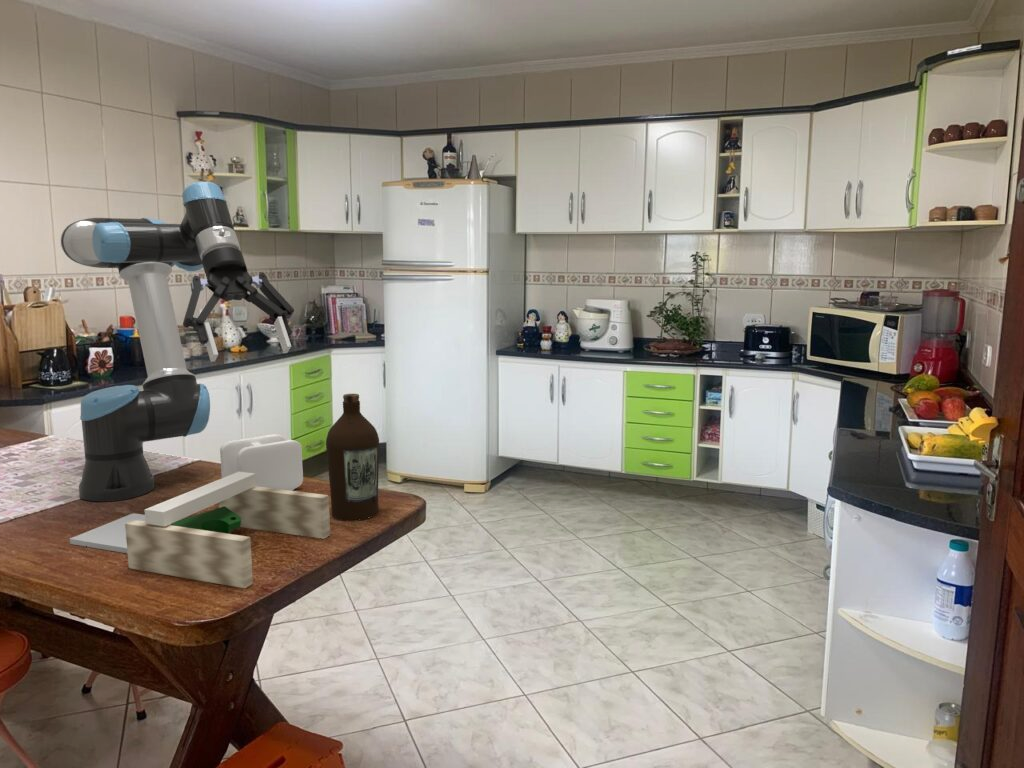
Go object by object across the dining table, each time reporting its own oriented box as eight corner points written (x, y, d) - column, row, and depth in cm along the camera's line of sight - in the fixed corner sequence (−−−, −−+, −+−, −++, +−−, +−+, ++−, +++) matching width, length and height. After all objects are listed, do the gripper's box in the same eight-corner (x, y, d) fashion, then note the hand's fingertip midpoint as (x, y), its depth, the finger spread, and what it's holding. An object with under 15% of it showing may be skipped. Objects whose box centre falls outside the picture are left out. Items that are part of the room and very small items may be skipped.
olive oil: (321, 511, 163) (316, 393, 159) (368, 502, 169) (364, 388, 165) (341, 526, 154) (336, 402, 150) (389, 515, 160) (386, 396, 156)
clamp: (196, 578, 141) (181, 543, 135) (176, 563, 144) (161, 529, 138) (250, 536, 148) (238, 502, 143) (230, 523, 151) (218, 489, 146)
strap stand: (128, 568, 134) (124, 523, 132) (226, 520, 157) (224, 482, 156) (245, 588, 126) (242, 541, 125) (330, 535, 149) (328, 495, 148)
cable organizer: (238, 502, 168) (235, 450, 166) (221, 491, 176) (218, 441, 174) (304, 489, 178) (301, 439, 176) (284, 478, 186) (282, 431, 184)
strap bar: (145, 523, 132) (144, 509, 131) (239, 483, 154) (238, 471, 153) (164, 526, 130) (163, 512, 130) (256, 485, 153) (255, 473, 152)
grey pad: (70, 543, 145) (69, 538, 145) (133, 517, 159) (133, 513, 158) (129, 553, 140) (128, 548, 140) (189, 526, 154) (188, 521, 154)
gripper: (155, 246, 139) (185, 351, 133) (289, 243, 154) (321, 337, 148) (148, 269, 144) (177, 371, 138) (278, 264, 159) (309, 355, 154)
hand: (252, 354), depth 143 cm, fingers open, 13 cm apart
